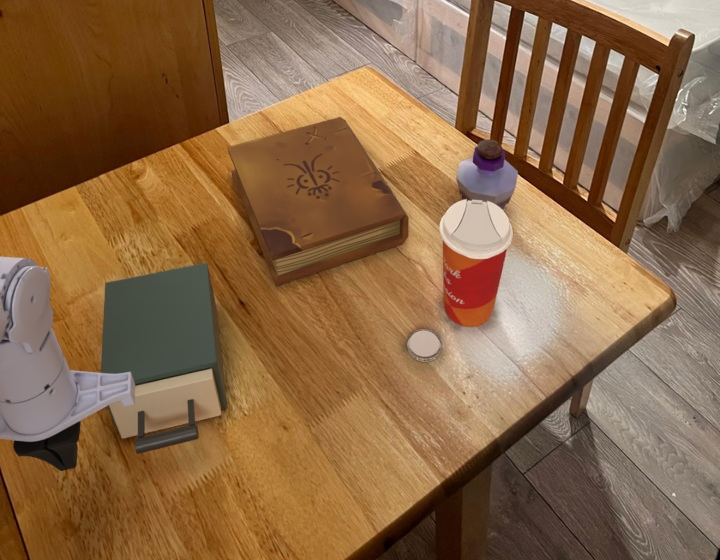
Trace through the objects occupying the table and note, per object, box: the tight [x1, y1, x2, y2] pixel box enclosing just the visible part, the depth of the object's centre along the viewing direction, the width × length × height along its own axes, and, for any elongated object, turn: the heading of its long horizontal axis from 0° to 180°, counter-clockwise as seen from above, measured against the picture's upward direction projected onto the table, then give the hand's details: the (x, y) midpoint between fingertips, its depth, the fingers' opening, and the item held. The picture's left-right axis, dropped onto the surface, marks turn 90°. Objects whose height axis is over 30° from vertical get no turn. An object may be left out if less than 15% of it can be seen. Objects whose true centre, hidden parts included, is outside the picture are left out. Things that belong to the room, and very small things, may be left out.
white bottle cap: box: [406, 328, 442, 363], centre depth 85 cm, size 4×4×1 cm
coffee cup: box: [438, 199, 514, 328], centre depth 86 cm, size 8×8×15 cm
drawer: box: [109, 368, 222, 455], centre depth 79 cm, size 17×10×7 cm, turn 14°
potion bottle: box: [455, 138, 519, 211], centre depth 100 cm, size 9×9×12 cm
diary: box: [227, 116, 410, 286], centre depth 103 cm, size 23×19×6 cm
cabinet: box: [100, 262, 228, 435], centre depth 82 cm, size 14×12×9 cm
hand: (69, 458), depth 66 cm, fingers closed
